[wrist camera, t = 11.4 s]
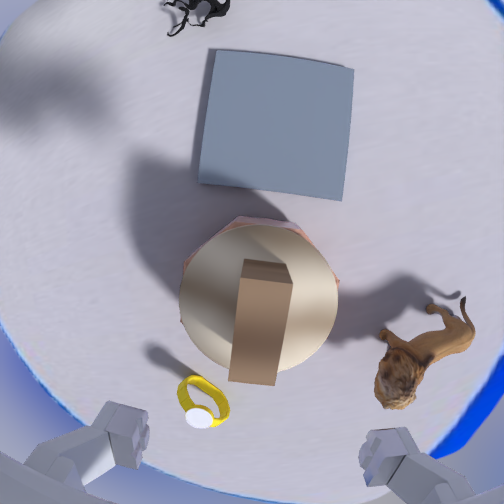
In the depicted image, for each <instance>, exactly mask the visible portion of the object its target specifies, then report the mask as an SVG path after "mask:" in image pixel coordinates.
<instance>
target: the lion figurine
mask: <svg viewBox="0 0 504 504" xmlns="http://www.w3.org/2000/svg"><path fill="white" fill-rule="evenodd" d="M465 303H466V296H465V297H463V298H462V299H461V301H460V309H461V312H462V315H463V318H464V320H465V322H466V323H464V322H463V321H462V320H461V319H460V318H459V317H458V316H456V315H453V316H451V315H449V313H448V311H447V310H445V309H442V308H440V307H438V306H436V305H434V304H429V305H428V306H427V308H426V310H427V313H428V314H434V313H437V314H440V315H441V316H442V319H443V322H444V324H445V326H446V328H445V329H444V330H441V331H430V332H426V333H423V334H420V335H418V336H417V337H415V338H414V339H412V340H411V341H409V342H407V341H404V340H402V339H400V338H399V337H397V336H396V335H395V334H394V333H393V332H391V331H389V330H387V329H383V330H382V331H381V332H380V334H379V337H380V338H381V340H387V341H388V342H389V345H390V346H391V348H390V349H389V351H387V352H386V354H385V357H383V359H381V361H380V362H379V371H378V373H377V375H376V378H375V382H374V383H375V388H374V393H375V397H376V398H377V399H378V400H379V401H380V402H381V404H382V406H383V408H384V409H388V408H390V409H392V410H393V409H401V410H402V409H404V408H405V407H406V406H408V405H409V404H410V403H412V402H413V401H414V400H415V399H416V395H415V392H416V388H417V386H418V385H419V384H420V382H421V381H422V380H423V376H424V372H425V371H426V369H427V368H428V367H429V366H430V365H431V364H433V363H435V362H437V361H439V360H440V359H442V358H443V357H445V356H448V355H450V354H455V353H460V352H463V351H465V350H466V349H467V348H468V347H469V346H470V345H471V342H472V340H473V339H474V337H475V328H474V325H473V324H472V322H471V320H470V319H469V317H468V316H467V314H466V312H465Z"/></svg>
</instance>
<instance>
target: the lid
mask: <svg viewBox="0 0 504 504" xmlns="http://www.w3.org/2000/svg"><path fill="white" fill-rule="evenodd" d="M179 308H180V315H181V318H182V322H183V325H184V327H185V329H186V332H187V334H188V335H189V337H190V339H191V340H192V342H193V343H194V344H195V345H196V347H197V348H198V349H199V350H200V351H201V352H202V353H203V354H204V355H205V356H207V357H208V358H209V359H211V360H212V361H214V362H215V363H217V364H219V365H221V366H223V367H225V368H227V369H229V377H228V381H233V382H241V383H249V384H259V385H269V386H275V381H276V376H277V372H280V371H284V370H287V369H289V368H292V367H294V366H296V365H298V364H300V363H301V362H303V361H305V360H306V359H307V358H309V357H310V356H311V355H313V354H314V353H315V352H316V351H317V350H318V349H319V348H320V346H321V345H322V344H323V343H324V341H325V340H326V338H327V337H328V335H329V333H330V331H331V329H332V327H333V325H334V322H335V318H336V315H337V308H338V292H337V285H336V281H335V278H334V275H333V273H332V270H331V268H330V266H329V265H328V263H327V261H326V260H325V258H324V257H323V256H322V255H321V253H320V252H319V251H318V250H317V249H316V248H315V247H314V246H313V245H312V244H311V243H310V242H309V241H307V240H306V239H304V238H303V237H301V236H300V235H298V234H296V233H294V232H292V231H290V230H287V229H285V228H282V227H278V226H273V225H265V224H253V225H244V226H240V227H236V228H233V229H230V230H227V231H225V232H223V233H221V234H219V235H217V236H216V237H214V238H213V239H211V240H210V241H209V242H208V243H206V244H205V245H204V246H203V247H202V248H201V249H200V250H199V251H198V252H197V254H196V255H195V256H194V257H193V259H192V260H191V262H190V263H189V265H188V267H187V269H186V271H185V273H184V275H183V278H182V282H181V285H180V292H179Z"/></svg>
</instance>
